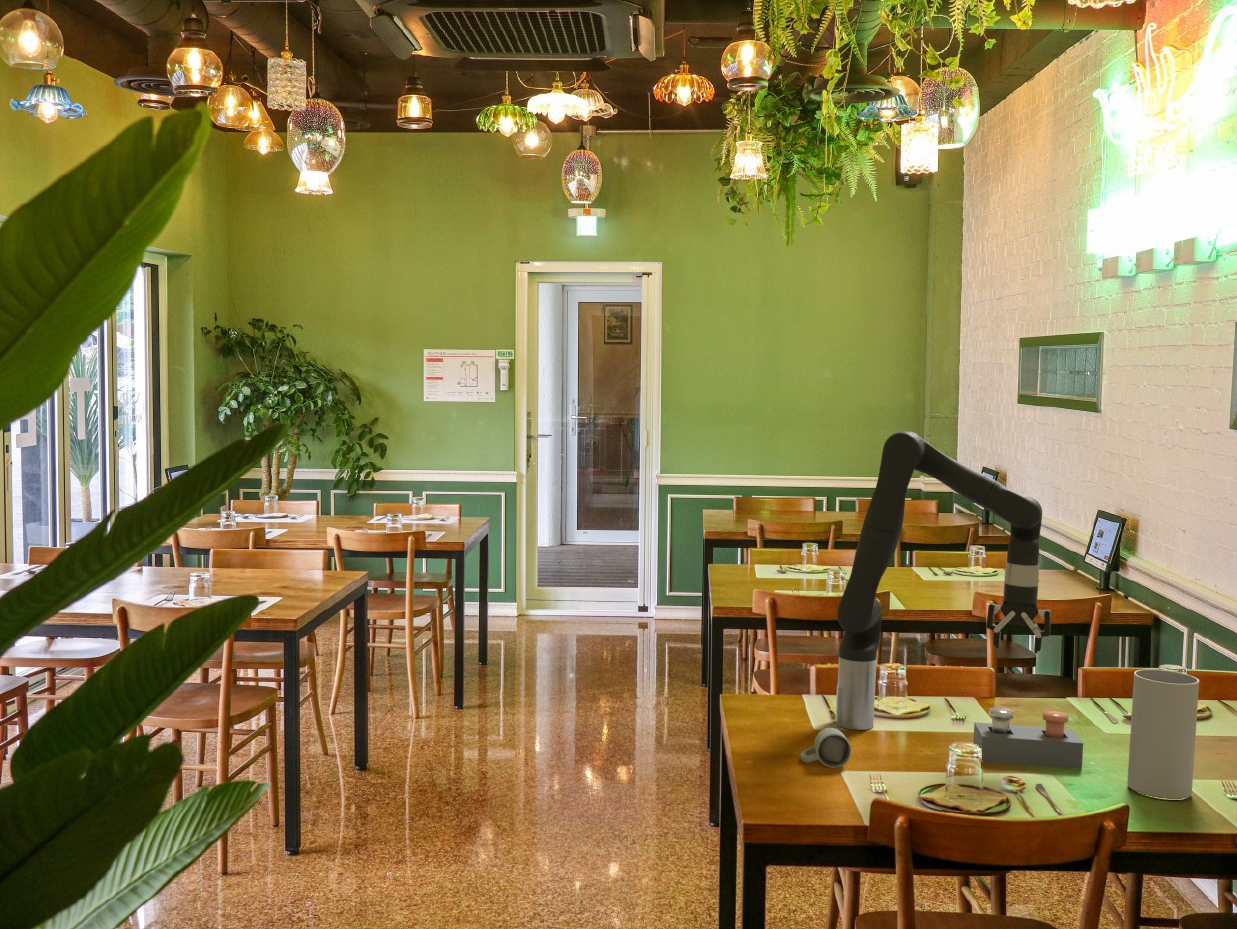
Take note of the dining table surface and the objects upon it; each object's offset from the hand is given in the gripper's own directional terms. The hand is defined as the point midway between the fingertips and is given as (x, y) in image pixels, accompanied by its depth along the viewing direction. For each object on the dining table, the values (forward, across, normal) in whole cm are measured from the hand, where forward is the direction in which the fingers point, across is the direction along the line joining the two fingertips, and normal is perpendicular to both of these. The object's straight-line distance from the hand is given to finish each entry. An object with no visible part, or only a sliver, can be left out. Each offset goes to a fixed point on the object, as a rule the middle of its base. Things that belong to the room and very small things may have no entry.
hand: (1016, 650), depth 270 cm
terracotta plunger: (+19, +10, -4) cm, 22 cm away
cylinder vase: (+24, +32, -14) cm, 42 cm away
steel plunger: (+19, -2, -7) cm, 21 cm away
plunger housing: (+24, +4, -5) cm, 25 cm away
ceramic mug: (+24, -36, -33) cm, 54 cm away
